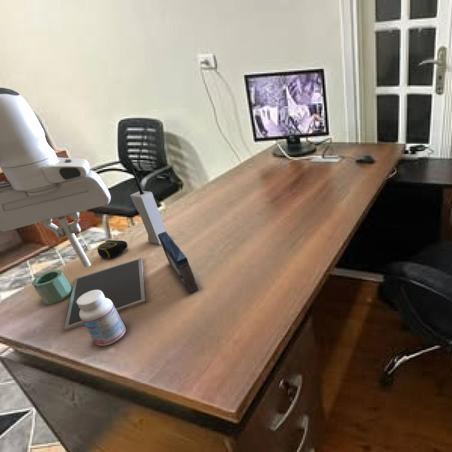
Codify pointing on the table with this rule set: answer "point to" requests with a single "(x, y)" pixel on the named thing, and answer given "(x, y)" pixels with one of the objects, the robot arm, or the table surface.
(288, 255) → the table surface
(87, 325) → the pill bottle
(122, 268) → the tablet
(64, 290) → the pen cup
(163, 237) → the vhs cassette tape
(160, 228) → the vintage mobile phone
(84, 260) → the stylus
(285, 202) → the table surface
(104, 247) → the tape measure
